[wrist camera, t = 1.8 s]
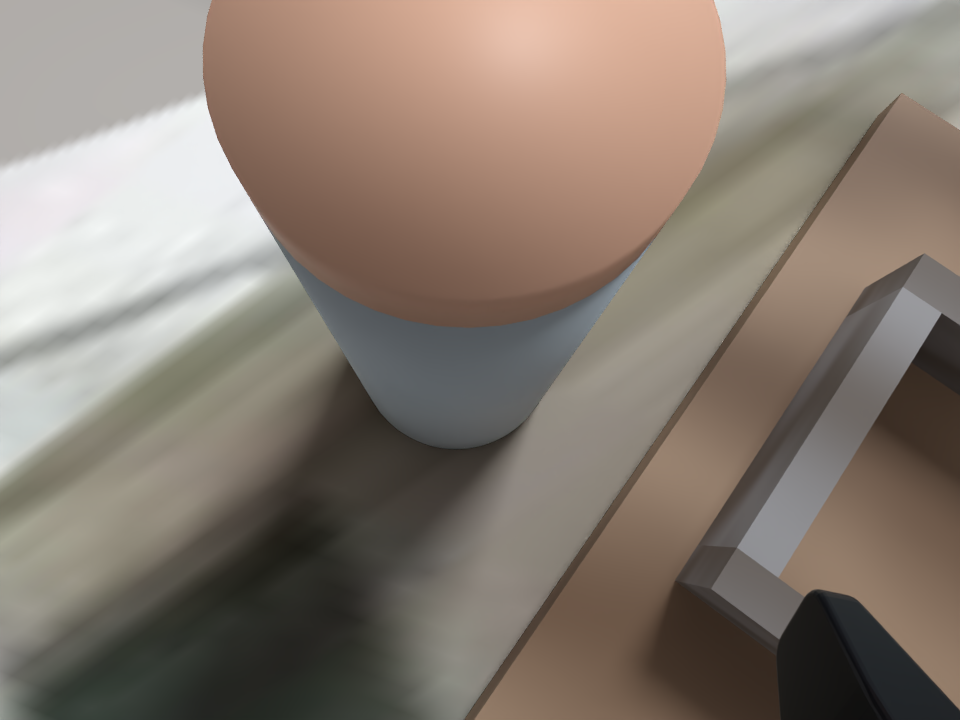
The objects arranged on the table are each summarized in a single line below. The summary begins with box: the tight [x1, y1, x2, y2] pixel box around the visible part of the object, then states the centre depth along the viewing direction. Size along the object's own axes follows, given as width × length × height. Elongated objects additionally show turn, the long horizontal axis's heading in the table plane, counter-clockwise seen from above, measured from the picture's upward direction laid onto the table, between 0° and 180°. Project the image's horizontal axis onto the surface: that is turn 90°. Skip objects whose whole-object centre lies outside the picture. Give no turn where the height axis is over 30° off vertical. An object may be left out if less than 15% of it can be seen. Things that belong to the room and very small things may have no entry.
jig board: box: [465, 93, 960, 720], centre depth 18 cm, size 20×13×4 cm, turn 144°
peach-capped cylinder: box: [203, 0, 726, 449], centre depth 14 cm, size 5×5×13 cm
